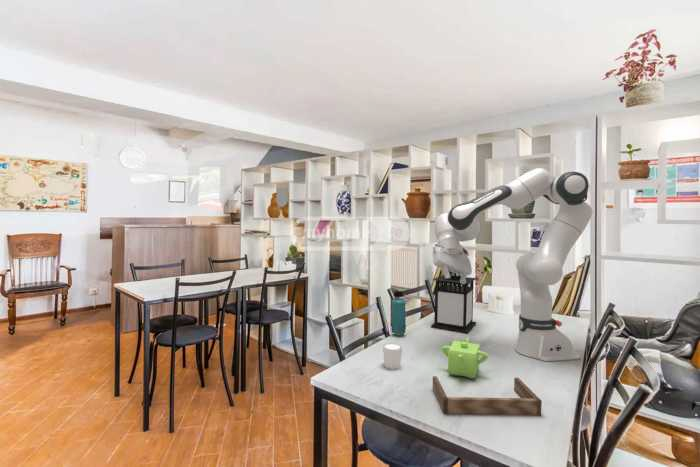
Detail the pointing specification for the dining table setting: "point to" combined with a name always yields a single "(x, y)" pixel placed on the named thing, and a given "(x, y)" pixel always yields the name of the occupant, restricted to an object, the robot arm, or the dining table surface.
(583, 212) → the robot arm
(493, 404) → the frame
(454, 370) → the teapot
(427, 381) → the dining table surface
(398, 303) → the beverage bottle
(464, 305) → the lantern
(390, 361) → the white cylinder
